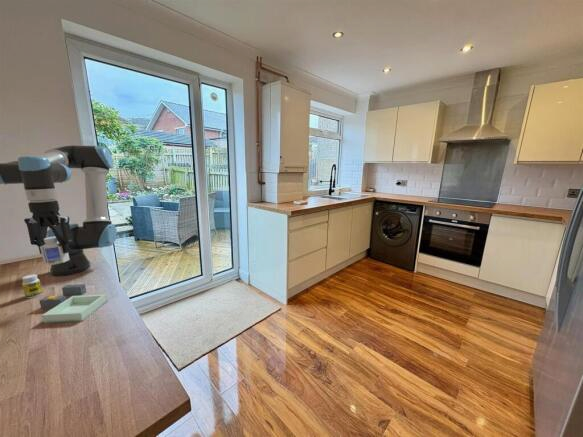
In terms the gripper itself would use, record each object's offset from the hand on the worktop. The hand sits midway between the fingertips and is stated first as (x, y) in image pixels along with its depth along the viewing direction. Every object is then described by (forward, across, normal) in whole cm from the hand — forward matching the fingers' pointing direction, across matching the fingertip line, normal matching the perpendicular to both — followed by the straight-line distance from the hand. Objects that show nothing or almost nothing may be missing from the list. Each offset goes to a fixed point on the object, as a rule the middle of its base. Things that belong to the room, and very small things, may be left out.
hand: (57, 261), depth 90 cm
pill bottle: (+1, 0, 0) cm, 1 cm away
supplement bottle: (+16, -16, +5) cm, 23 cm away
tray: (+16, +12, -9) cm, 22 cm away
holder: (+16, 0, 0) cm, 16 cm away
